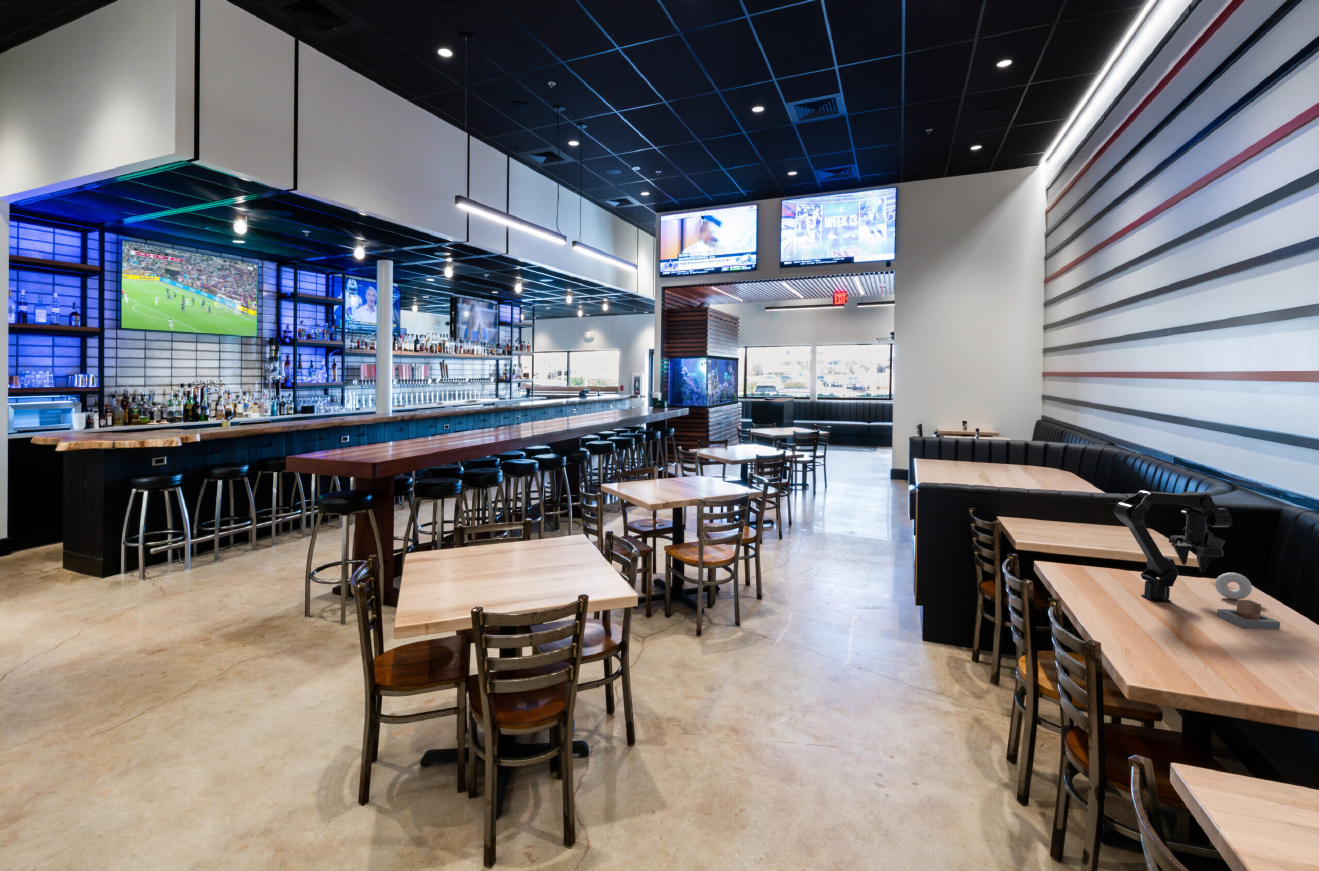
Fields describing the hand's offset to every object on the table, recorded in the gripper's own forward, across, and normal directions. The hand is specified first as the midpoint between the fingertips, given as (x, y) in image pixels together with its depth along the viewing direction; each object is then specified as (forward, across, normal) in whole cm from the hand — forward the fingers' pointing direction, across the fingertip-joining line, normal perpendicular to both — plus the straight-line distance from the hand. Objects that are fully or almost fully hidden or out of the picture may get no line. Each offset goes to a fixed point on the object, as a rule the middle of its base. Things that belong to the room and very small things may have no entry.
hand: (1193, 568), depth 220 cm
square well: (+12, -21, -3) cm, 25 cm away
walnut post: (+12, -21, -3) cm, 25 cm away
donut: (+12, +2, -15) cm, 20 cm away
